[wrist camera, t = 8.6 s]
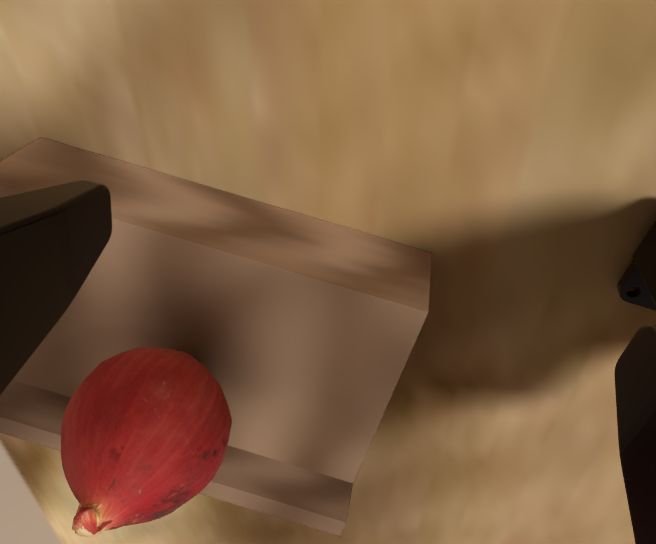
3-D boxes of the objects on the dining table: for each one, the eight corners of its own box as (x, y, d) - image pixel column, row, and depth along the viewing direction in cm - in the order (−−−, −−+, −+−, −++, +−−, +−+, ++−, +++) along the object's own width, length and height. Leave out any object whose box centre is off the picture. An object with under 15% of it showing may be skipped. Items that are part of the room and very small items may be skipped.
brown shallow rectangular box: (431, 252, 23) (426, 350, 18) (358, 431, 30) (339, 536, 25) (40, 137, 24) (-67, 202, 19) (57, 340, 31) (-18, 426, 26)
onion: (282, 365, 23) (213, 555, 16) (209, 426, 26) (126, 607, 19) (163, 278, 21) (35, 449, 15) (100, 354, 24) (-28, 523, 18)
